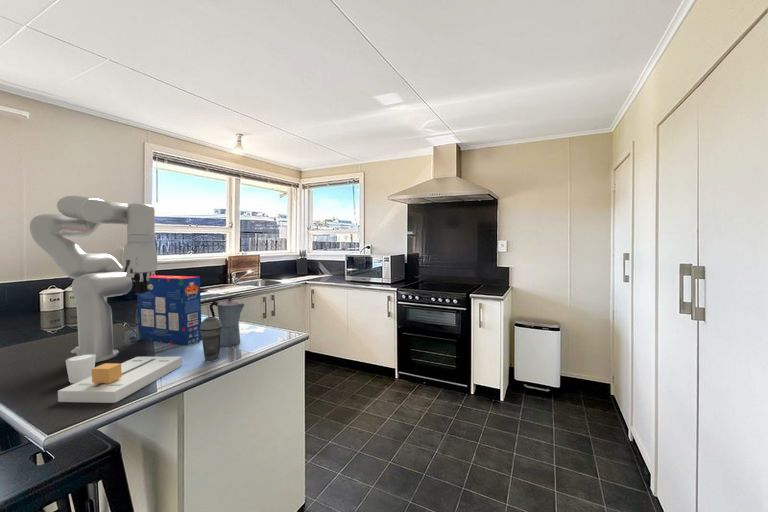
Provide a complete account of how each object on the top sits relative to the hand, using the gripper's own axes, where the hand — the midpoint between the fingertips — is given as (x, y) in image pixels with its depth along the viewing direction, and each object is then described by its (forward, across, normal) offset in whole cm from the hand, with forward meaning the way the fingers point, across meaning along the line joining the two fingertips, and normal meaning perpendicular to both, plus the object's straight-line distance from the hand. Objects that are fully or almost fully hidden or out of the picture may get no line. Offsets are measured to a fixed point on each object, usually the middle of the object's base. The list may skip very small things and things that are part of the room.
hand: (141, 292), depth 111 cm
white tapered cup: (+26, +13, -8) cm, 30 cm away
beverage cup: (+25, -6, +22) cm, 34 cm away
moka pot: (+25, -24, +17) cm, 39 cm away
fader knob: (+21, +20, +8) cm, 31 cm away
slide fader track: (+25, +14, +8) cm, 29 cm away
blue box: (+26, -28, -12) cm, 40 cm away
